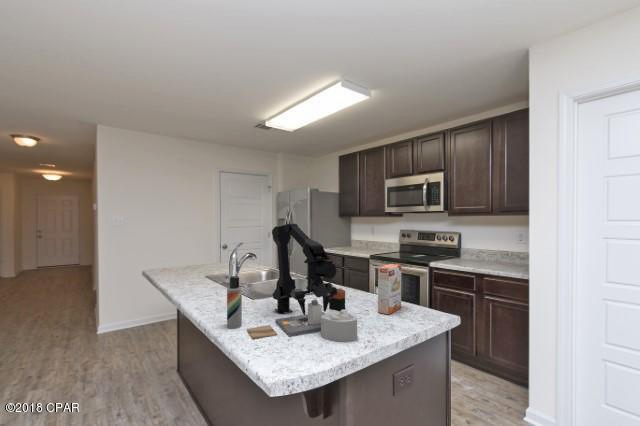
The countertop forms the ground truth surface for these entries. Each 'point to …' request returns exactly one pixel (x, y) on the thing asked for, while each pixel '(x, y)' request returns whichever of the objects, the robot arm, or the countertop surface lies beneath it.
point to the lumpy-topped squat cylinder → (339, 326)
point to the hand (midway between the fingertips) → (314, 313)
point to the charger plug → (314, 312)
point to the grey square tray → (297, 325)
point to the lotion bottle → (234, 303)
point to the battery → (338, 300)
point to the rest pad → (261, 332)
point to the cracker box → (389, 288)
